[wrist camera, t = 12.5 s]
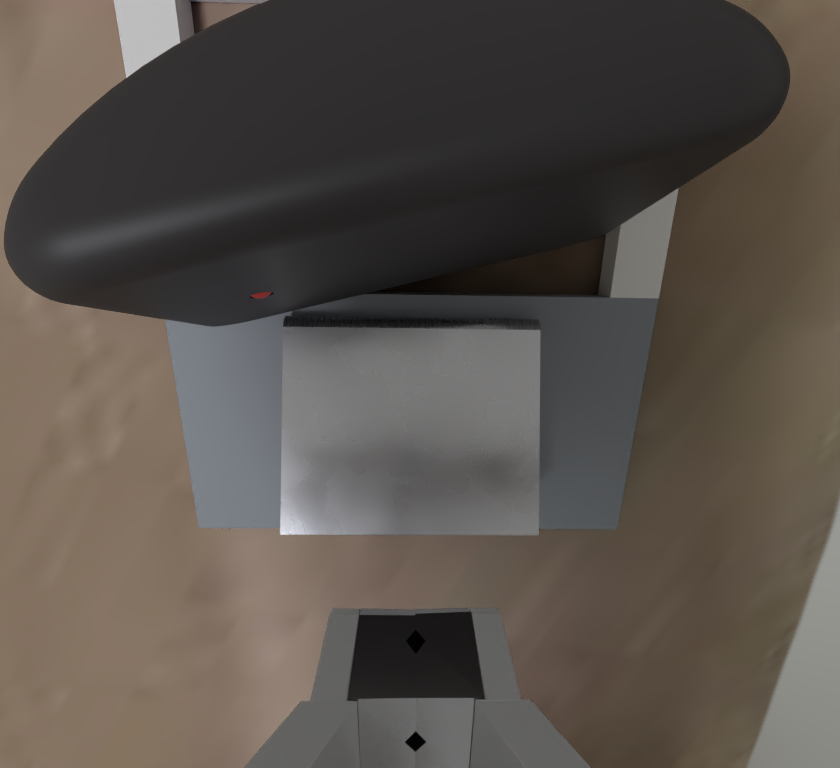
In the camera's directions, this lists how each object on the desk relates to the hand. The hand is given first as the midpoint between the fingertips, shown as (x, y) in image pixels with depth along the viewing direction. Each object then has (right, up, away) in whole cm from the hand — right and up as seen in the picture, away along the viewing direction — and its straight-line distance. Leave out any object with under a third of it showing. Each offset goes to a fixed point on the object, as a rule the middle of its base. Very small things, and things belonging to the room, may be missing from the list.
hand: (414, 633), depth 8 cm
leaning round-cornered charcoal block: (0, +9, +9) cm, 13 cm away
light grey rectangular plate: (0, +3, +10) cm, 10 cm away
